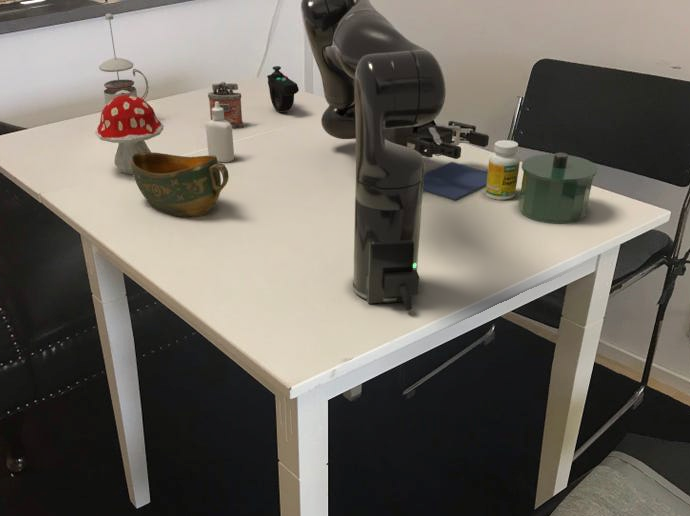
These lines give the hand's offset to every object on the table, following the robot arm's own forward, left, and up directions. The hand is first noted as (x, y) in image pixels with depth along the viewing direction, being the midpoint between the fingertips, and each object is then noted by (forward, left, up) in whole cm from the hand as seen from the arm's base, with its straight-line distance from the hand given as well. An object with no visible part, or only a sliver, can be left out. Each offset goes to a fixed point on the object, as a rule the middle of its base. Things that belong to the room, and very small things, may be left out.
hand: (473, 147), depth 141 cm
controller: (+54, +32, -8) cm, 64 cm away
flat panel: (+3, +2, -7) cm, 8 cm away
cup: (-3, +54, -8) cm, 55 cm away
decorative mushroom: (+19, +65, -8) cm, 69 cm away
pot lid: (-13, -11, 0) cm, 17 cm away
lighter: (+45, +46, -8) cm, 65 cm away
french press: (+51, +70, -8) cm, 87 cm away
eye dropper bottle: (+22, +47, -8) cm, 53 cm away
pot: (-13, -11, -7) cm, 19 cm away
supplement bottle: (-5, -4, -8) cm, 10 cm away
